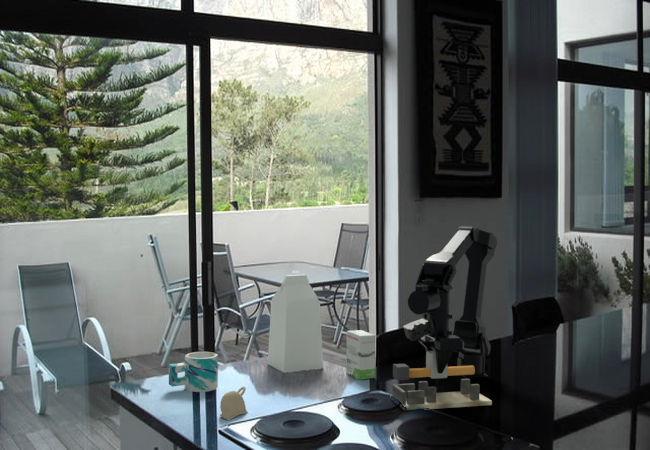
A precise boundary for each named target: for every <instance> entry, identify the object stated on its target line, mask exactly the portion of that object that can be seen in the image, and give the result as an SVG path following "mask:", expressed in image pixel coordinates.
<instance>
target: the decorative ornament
mask: <svg viewBox="0 0 650 450" xmlns="http://www.w3.org/2000/svg"><path fill="white" fill-rule="evenodd" d="M246 389H247V388H246V387H245V386H242V387H240V388H239V389H238V390H237V391H236V390H231V391H229V392H228V391H227V392H225V394H224V395H223V396H222V398H221V399H220V406H219V408H220V412H221V413H220V414H219V416H220V417H221V418H223V419H225V420H227V421H230V420H232V419H233V418H234V417H237V416H238V415H242V414H249V412H248V411H247V408H246V403H245V400H244V398H243V395H244V394H245V393H246Z"/></svg>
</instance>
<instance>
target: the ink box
mask: <svg viewBox="0 0 650 450" xmlns="http://www.w3.org/2000/svg"><path fill="white" fill-rule="evenodd" d="M345 360H346V362H345V363H346V365H345V372H347V373H346V374H348V373H349V374H348V375H350V374H351V375H350V376H352V375H353V376H352V377H354V378H356V379H358V380H368V379H375V378H376V335H375V334H372V333H371V332H367V331H366V330H363V329H359V330H357V329H356V330H355V329H354V330H353V329H352V330H347V331H346V358H345Z"/></svg>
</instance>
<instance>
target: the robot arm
mask: <svg viewBox="0 0 650 450" xmlns="http://www.w3.org/2000/svg"><path fill="white" fill-rule="evenodd" d="M497 245H498V239H497V236H495V235H494V233H493V232H489V231H484V230H481V229H479V228H478V227H476V226H462V225H461V226H459V227H457V229H456V233H455V234H454V235H453V237H452V238H451V239H450V240H449V242H447V244H446V245H445V246H444V248H443V249H442V250H441V251H439V252H438V253H436V254H432V255H431V256H429V257H427V259H425V261H424V262H423V264H422V266H421V268H420V269H421V270H420V272H419V275H418V278H417V280H416V283H415V290H413V291H412V292H411V293H410V295H409V296H408V298H407V306H408V309H409V310H410V311H411V312H412V313H414V314H415V315H421V318H420V319H417V320H414V321H412V322H409V323H407V324H405V325H402V328H403V330H404V331H403V332H404V333H405V337H406V339H409V340H410V341H411V342H415V341H418V342H419V343H420V344H421V345H422V346H423V347H424V348H425V351H434V352H435V353H436V363H437V371H438V373H439V374H440V373H443V371H444V369H445V367H446V365H447V366H448V363H449V361H450V359H451V357H452V356H453V354H454V352H455V353H458V357H457V362H456V364H457V366H472V365H473V366H474V368H475V373H474V374H470V375H460V376H462V377H464V379H470V378H471V379H472V378H473V379H474V378H487V377H488V374H486V373H485V368H486V367H485V365H486V364H485V361H486V356H489V355H490V353H491V343H490V341H489V339H488V337H487V335H486V326H485V324H484V322H483V320H482V316H481V315H482V310H483V309H482V308H483V301H484V300H483V299H484V292H485V291H484V290H485V282H486V274H487V265H488V263H490V261H491V260H492V259H493V258H494V256H495V249H496V247H497ZM464 255H465V256H466V259H467V261H468V268H467V274H466V276H467V277H466V284H465V294H464V302H463V311H462V315H461V316H460V318H459V319H456V320H455V321H454V325H453V327H454V328H453V330H450V320H452V319H453V314H451V313H450V301H451V299H450V295H451V294H450V293H451V291H452V290H453V286H452V285H451V284H452V282H453V280H454V278H455V277H456V274H457V272H458V271H457V267H456V266H457V264H458V263H459V261H460V260H461V259H462V258H463V256H464ZM452 331H453V332H452Z"/></svg>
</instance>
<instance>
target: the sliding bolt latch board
mask: <svg viewBox="0 0 650 450" xmlns="http://www.w3.org/2000/svg"><path fill="white" fill-rule="evenodd" d="M480 386H481V385H480V384H479V383H471V379H470V378H460V391H448V392H447V391H446V392H437V387H436V386H434V385H433V386H429V382H428V381H427V380H421V381H418V389H416V384H415V383H398V384H396V383H395V384H392V387H391V388H392V389H391V392H392V394H391V396H393V397H395V398H397V399H398V400H399V401H400V402H401V403H402V405H403V406H404V407H406V408H416V407H424V408H429V409H428V410H434V409H435V410H437V409H450V408H465V407H467V408H469V407H479V406H480V407H481V406H492V405H493V401H492V400H491V399H490V398H488V397H487V396H485V395H483V394H481V393H480V388H481V387H480Z"/></svg>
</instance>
